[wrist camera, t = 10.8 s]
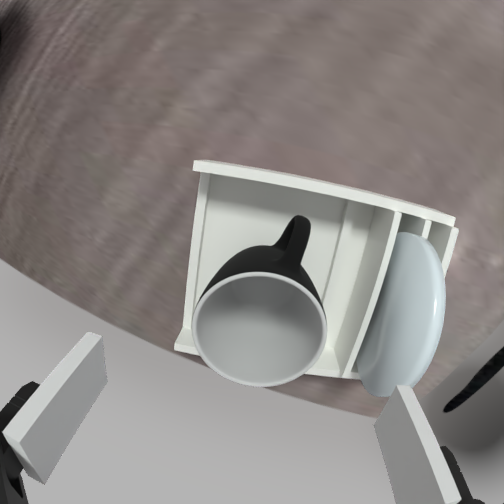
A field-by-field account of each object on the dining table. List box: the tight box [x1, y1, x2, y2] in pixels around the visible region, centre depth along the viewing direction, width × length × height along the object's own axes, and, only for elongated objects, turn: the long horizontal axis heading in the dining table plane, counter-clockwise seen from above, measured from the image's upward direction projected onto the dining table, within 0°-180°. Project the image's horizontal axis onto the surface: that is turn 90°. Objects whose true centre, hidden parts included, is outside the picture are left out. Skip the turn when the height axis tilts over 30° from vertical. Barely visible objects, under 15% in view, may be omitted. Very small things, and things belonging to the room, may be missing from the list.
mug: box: [192, 215, 327, 387], centre depth 24 cm, size 12×9×10 cm
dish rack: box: [174, 160, 459, 380], centre depth 27 cm, size 22×17×6 cm
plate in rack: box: [356, 232, 446, 397], centre depth 23 cm, size 1×13×13 cm, turn 170°
